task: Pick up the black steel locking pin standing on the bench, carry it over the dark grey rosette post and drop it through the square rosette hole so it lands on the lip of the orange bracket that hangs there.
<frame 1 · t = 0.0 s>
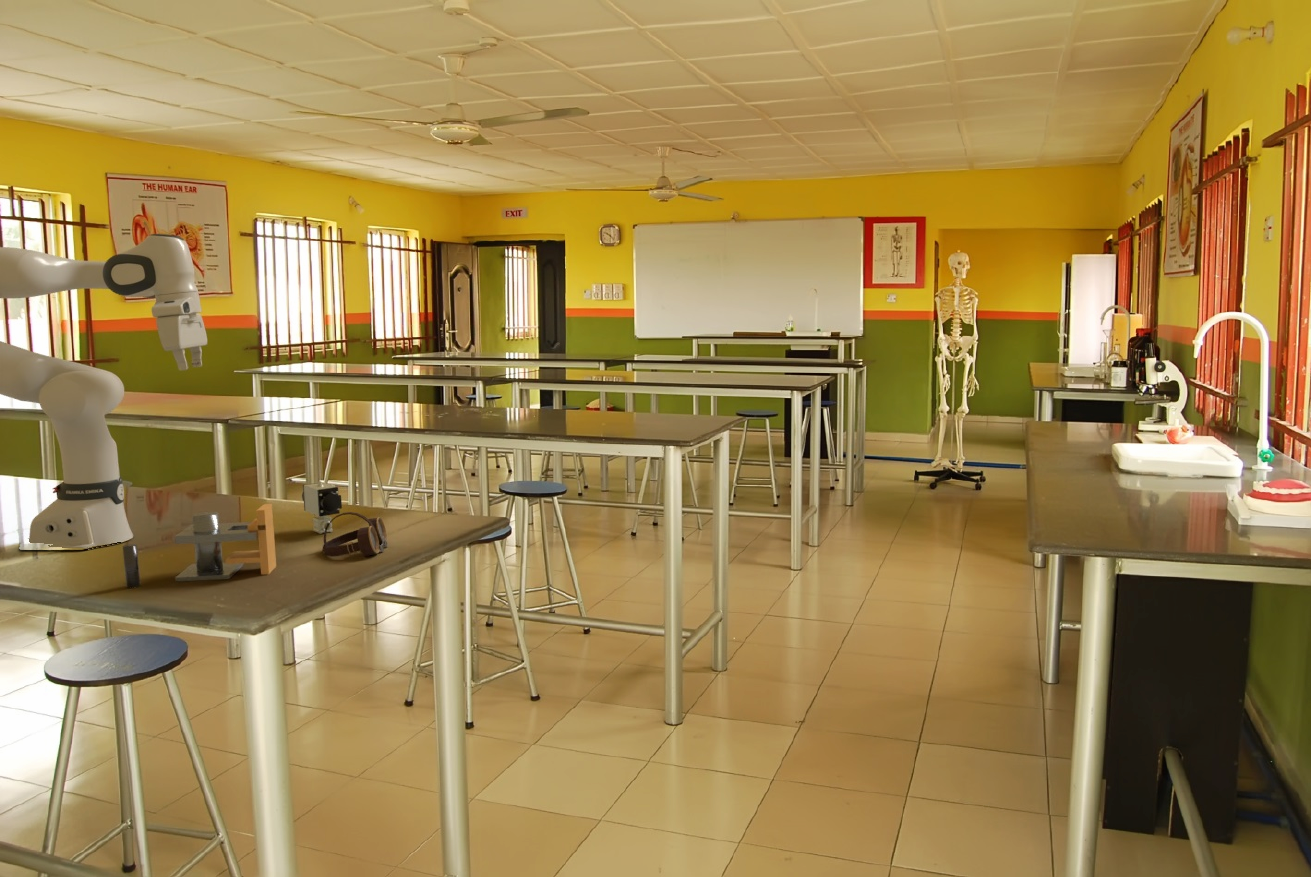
hand: (190, 368, 225), 39 cm above the table, tool pointing down, fingers open, 8 cm apart
bracket: (249, 539, 200), on the table
locking pin: (133, 586, 192), on the table
rosette post: (210, 573, 200), on the table
goggles: (354, 552, 216), on the table
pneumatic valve: (324, 532, 234), on the table
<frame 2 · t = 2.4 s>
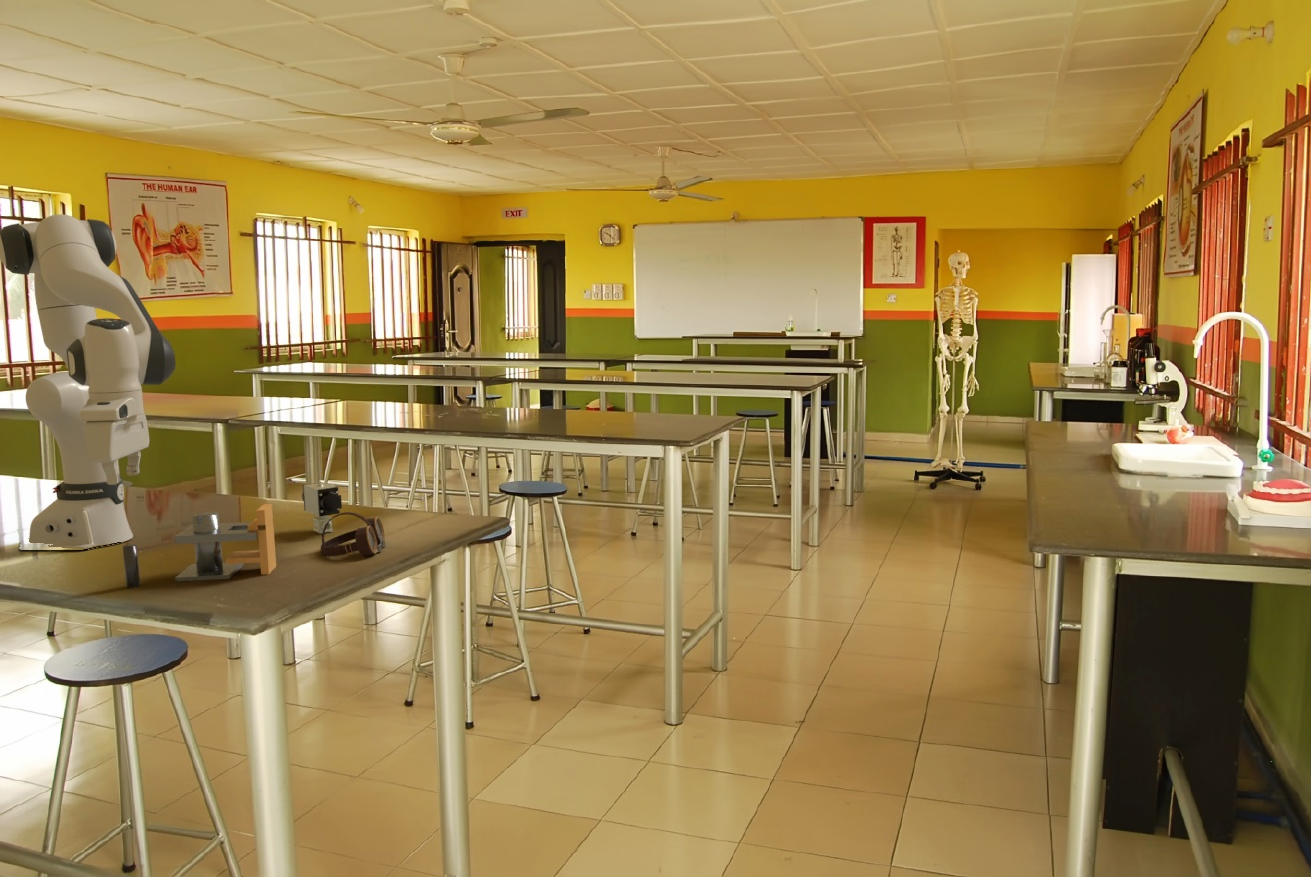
hand: (123, 479, 189), 21 cm above the table, tool pointing down, fingers open, 8 cm apart
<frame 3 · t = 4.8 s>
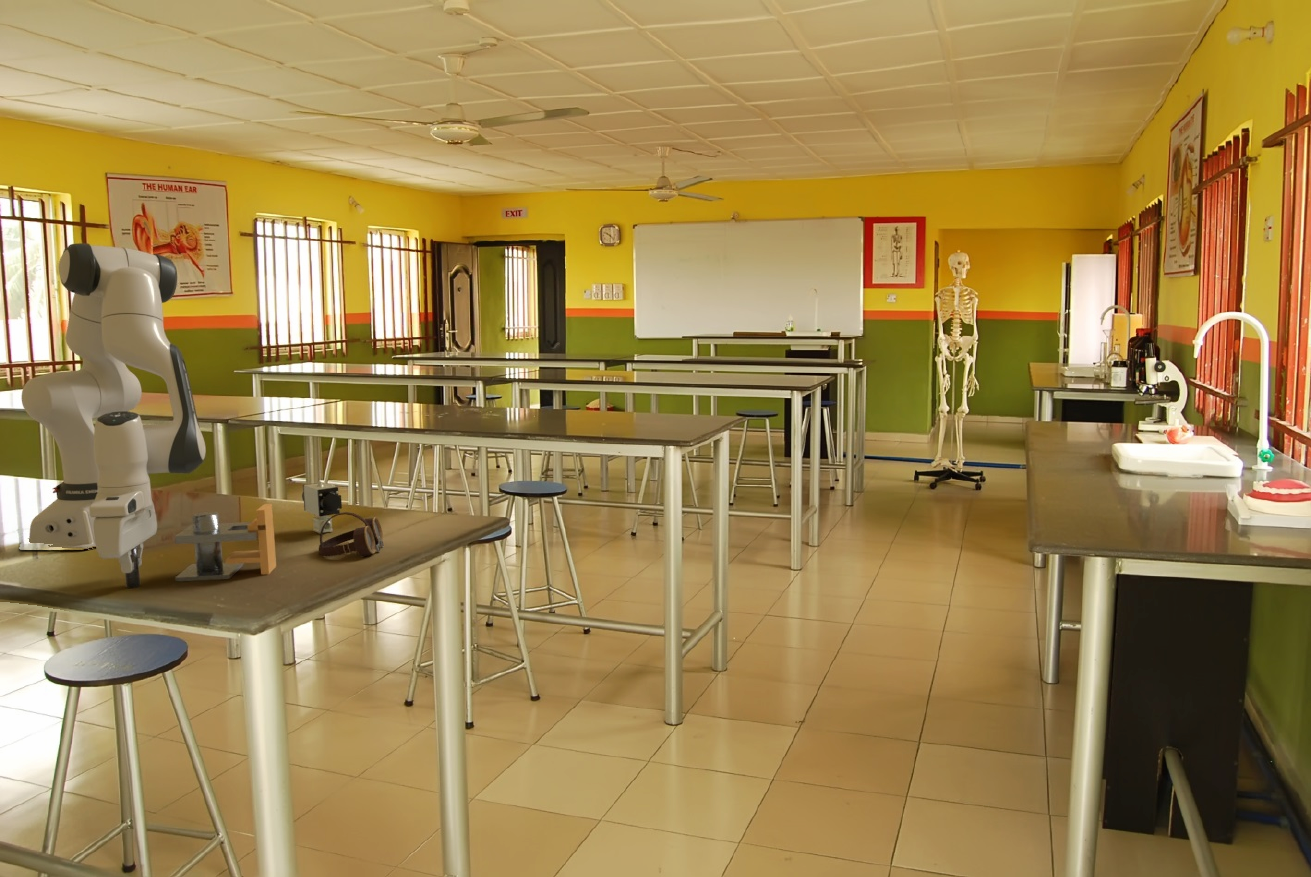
hand: (131, 569, 191), 3 cm above the table, tool pointing down, fingers closed on locking pin, 2 cm apart
locking pin: (133, 586, 192), on the table, touching gripper
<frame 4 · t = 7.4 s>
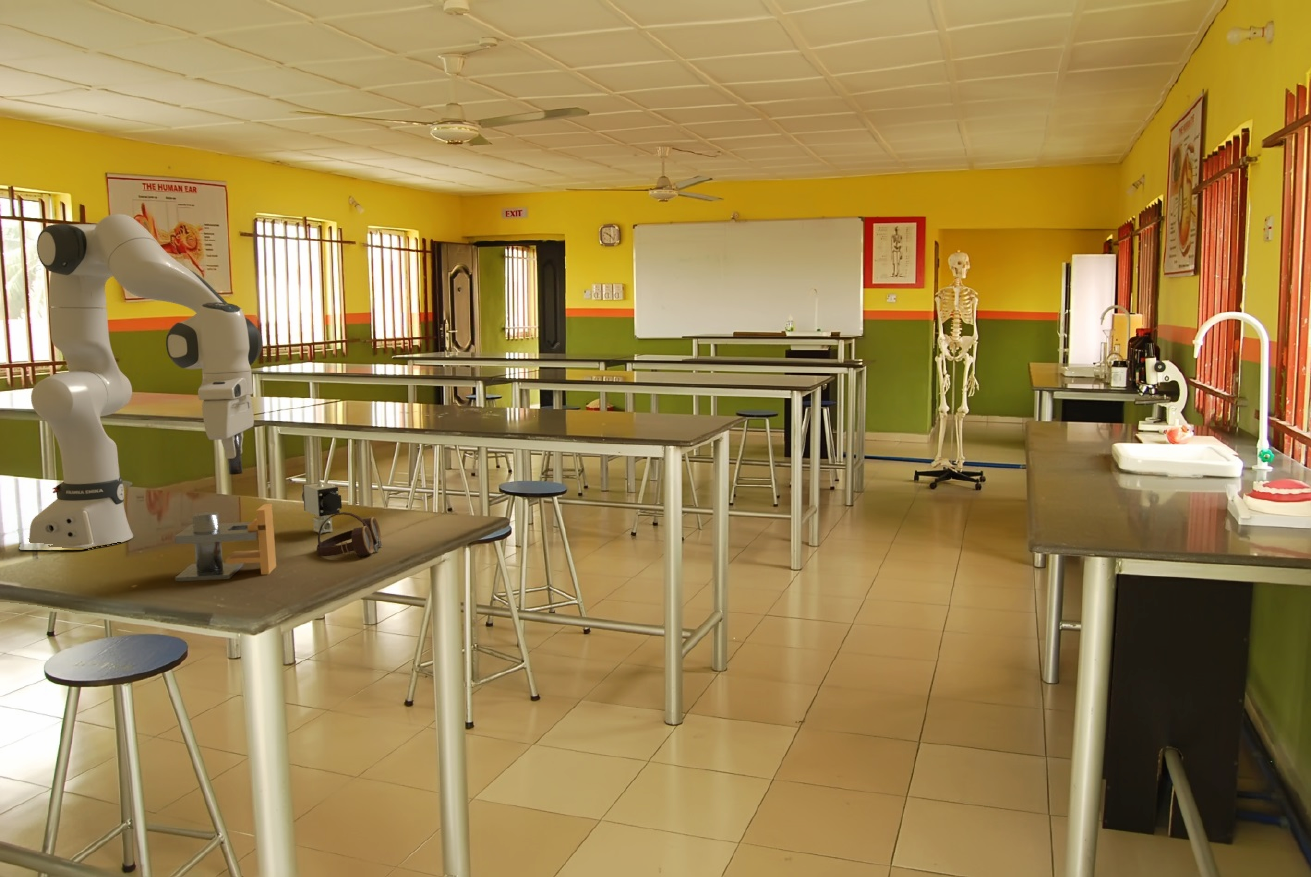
hand: (234, 456, 197), 23 cm above the table, tool pointing down, fingers closed on locking pin, 2 cm apart
locking pin: (235, 473, 198), point 20 cm above the table, touching gripper
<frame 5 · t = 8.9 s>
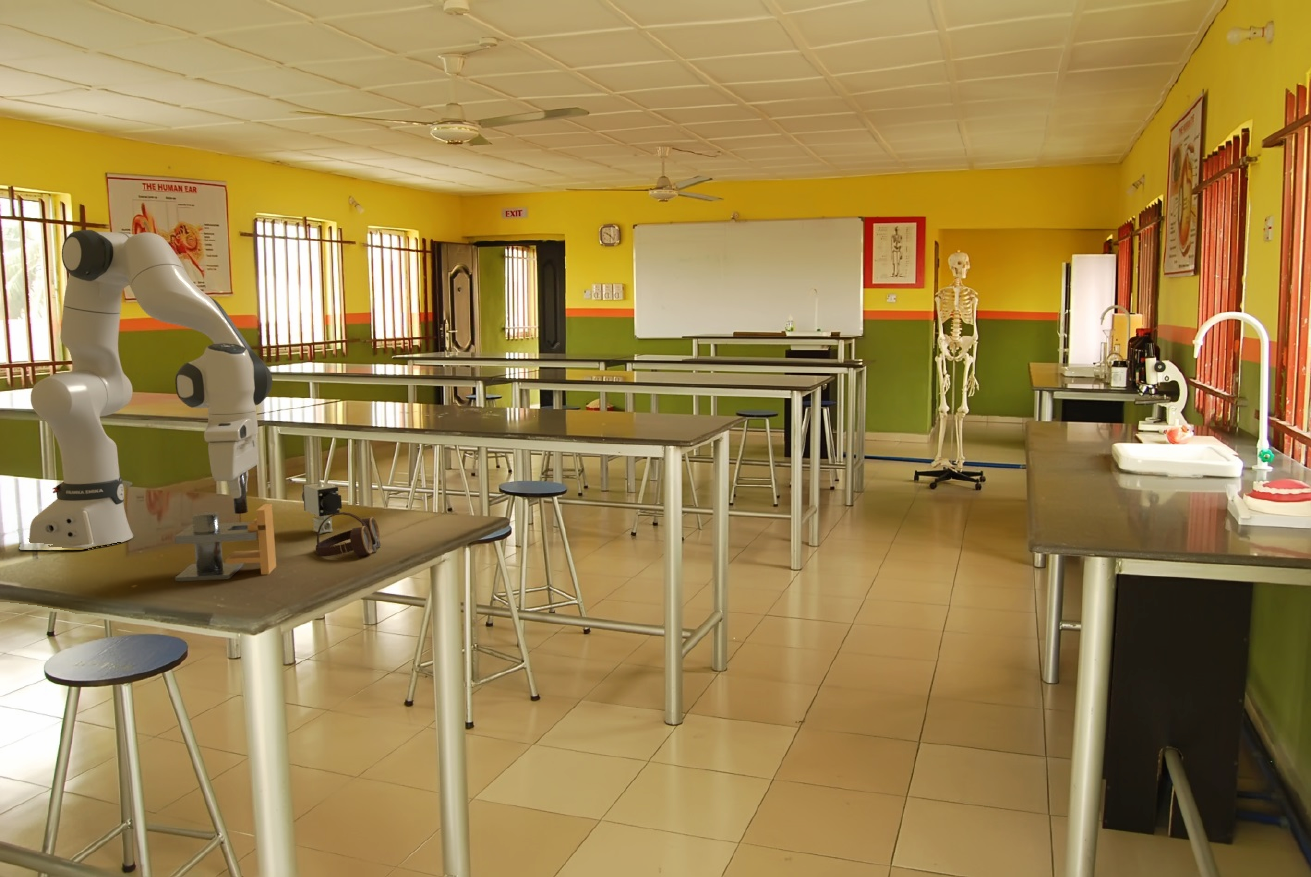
hand: (239, 495, 199), 15 cm above the table, tool pointing down, fingers closed on locking pin, 2 cm apart
locking pin: (241, 512, 199), point 12 cm above the table, touching gripper
when the fingers open (11 cm above the table, at t = 9.9 s): locking pin drops 4 cm, resting on bracket.
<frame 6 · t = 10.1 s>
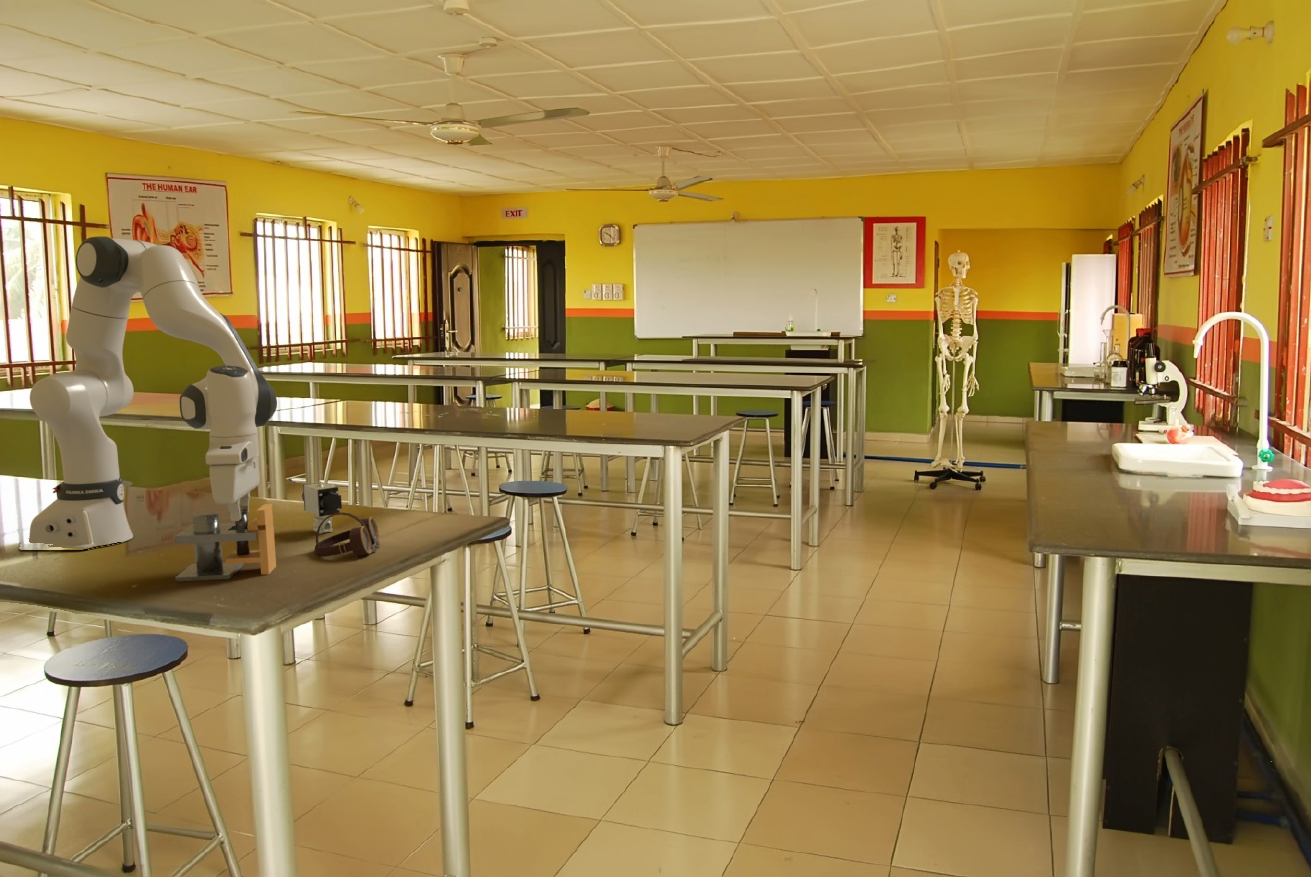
hand: (240, 517, 199), 11 cm above the table, tool pointing down, fingers open, 4 cm apart
locking pin: (243, 553, 200), point 4 cm above the table, touching bracket, gripper
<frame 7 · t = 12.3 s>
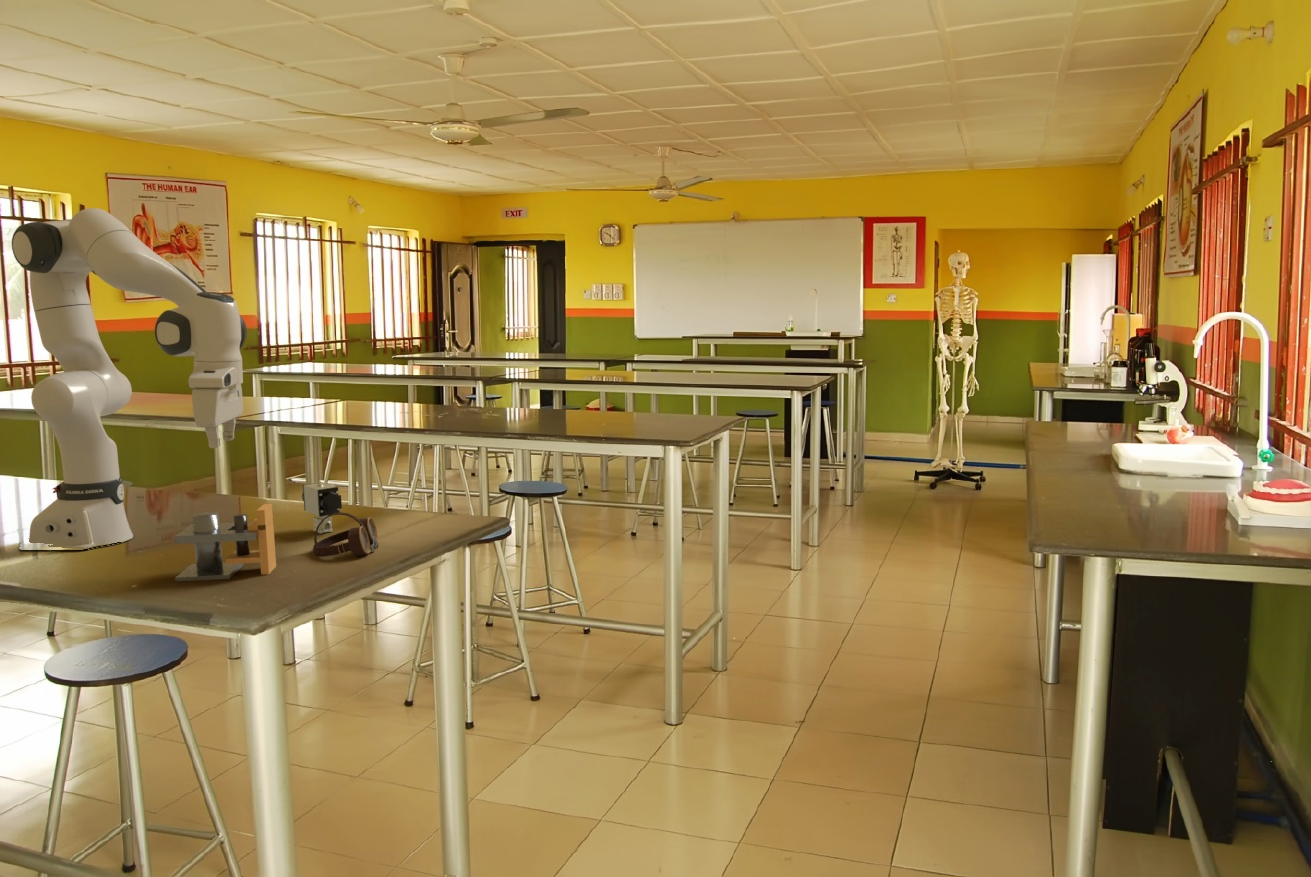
hand: (221, 443, 201), 25 cm above the table, tool pointing down, fingers open, 8 cm apart
locking pin: (243, 554, 200), point 4 cm above the table, touching bracket
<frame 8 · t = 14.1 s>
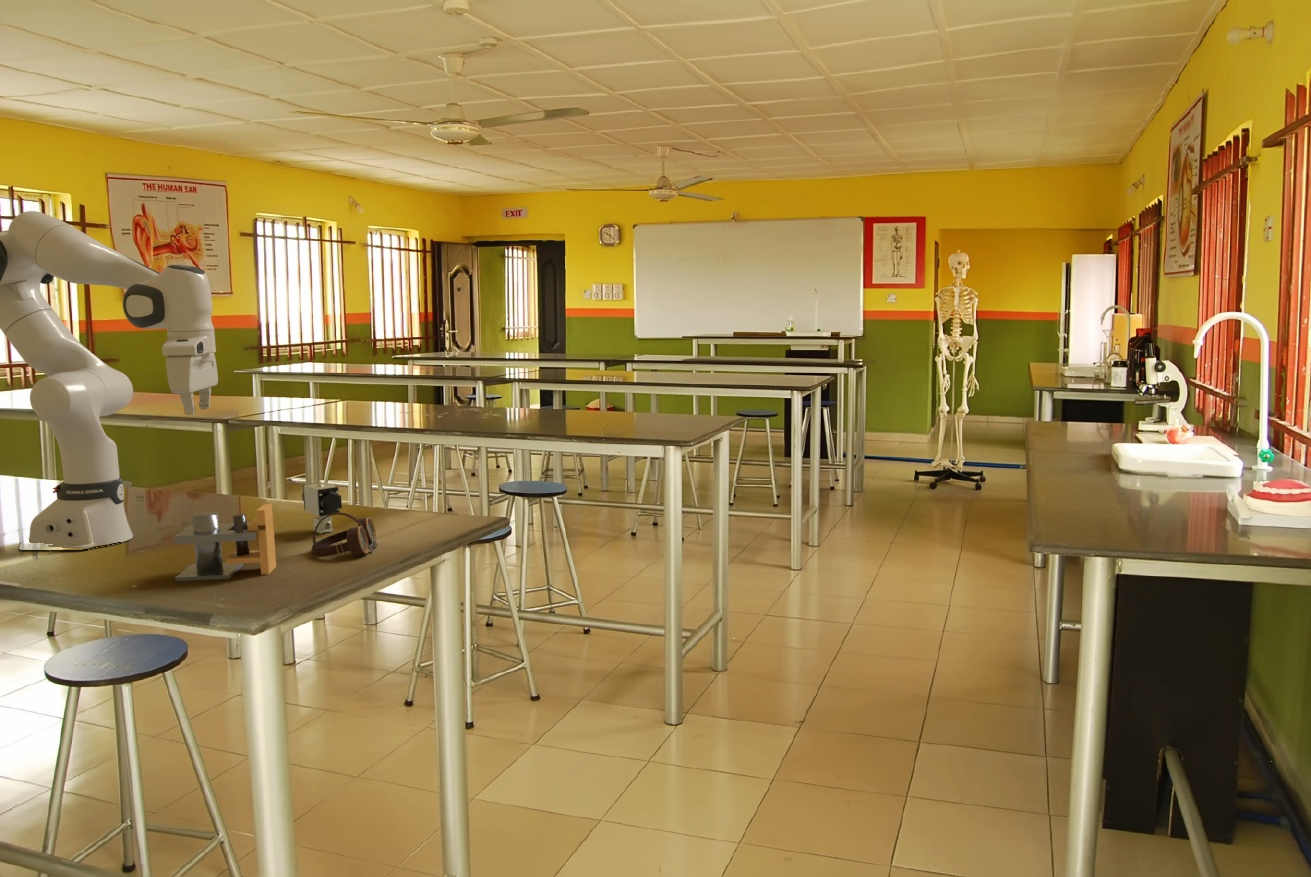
hand: (197, 411, 208), 31 cm above the table, tool pointing down, fingers open, 8 cm apart
at the end: locking pin 0.1 cm from the target spot on the rosette post, point 3.5 cm above the rosette post's base; locking pin tilted 2°; the gripper is holding nothing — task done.
